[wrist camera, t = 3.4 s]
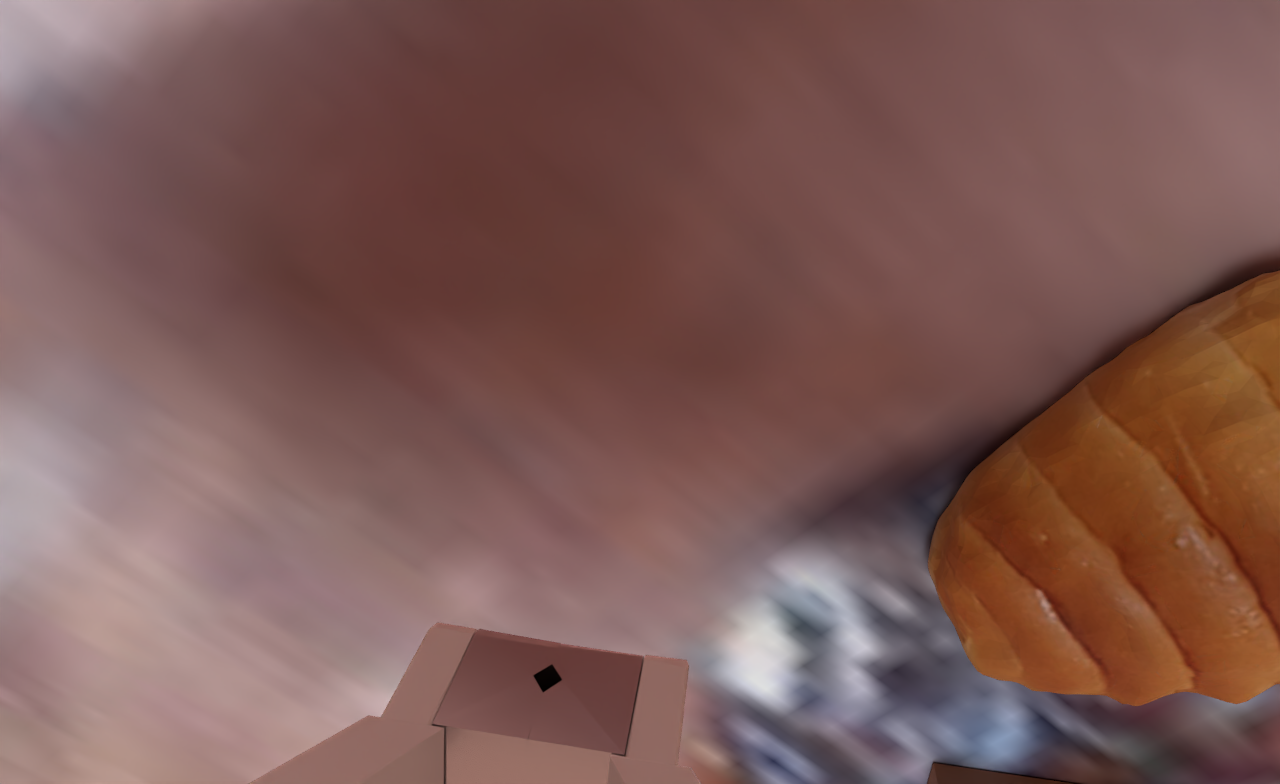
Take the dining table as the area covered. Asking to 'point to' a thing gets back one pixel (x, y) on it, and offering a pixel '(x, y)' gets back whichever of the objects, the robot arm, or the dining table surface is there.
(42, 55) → the dining table surface
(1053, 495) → the pastry
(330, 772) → the robot arm
